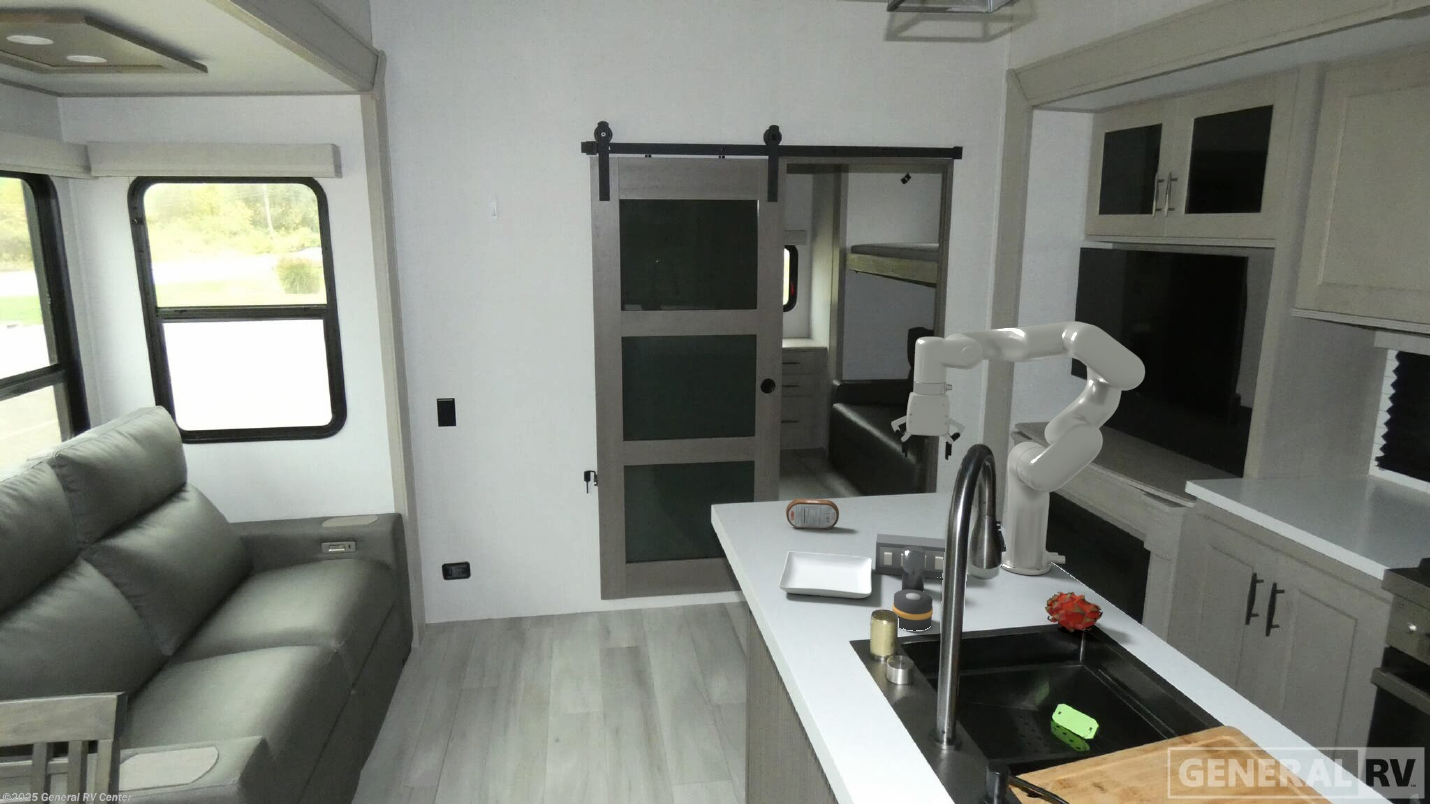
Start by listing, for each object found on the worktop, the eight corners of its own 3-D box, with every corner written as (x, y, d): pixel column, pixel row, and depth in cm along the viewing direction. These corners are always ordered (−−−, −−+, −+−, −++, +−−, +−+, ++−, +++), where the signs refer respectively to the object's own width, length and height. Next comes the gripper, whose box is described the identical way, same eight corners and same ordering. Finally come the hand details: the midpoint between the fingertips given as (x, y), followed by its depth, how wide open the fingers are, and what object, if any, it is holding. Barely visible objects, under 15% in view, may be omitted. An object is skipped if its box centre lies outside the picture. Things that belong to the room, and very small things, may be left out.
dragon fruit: (1037, 630, 172) (1094, 641, 171) (1052, 624, 164) (1112, 635, 163) (1038, 591, 175) (1094, 601, 174) (1052, 583, 167) (1111, 593, 166)
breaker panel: (949, 570, 199) (951, 539, 198) (951, 582, 192) (953, 551, 190) (876, 563, 204) (877, 533, 202) (874, 575, 196) (875, 544, 195)
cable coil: (931, 616, 175) (932, 589, 174) (932, 634, 167) (933, 606, 166) (892, 612, 177) (893, 586, 176) (891, 630, 169) (892, 602, 168)
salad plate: (871, 606, 181) (871, 592, 180) (777, 599, 185) (777, 585, 184) (871, 569, 201) (872, 556, 200) (787, 563, 205) (787, 550, 204)
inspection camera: (923, 586, 190) (925, 546, 188) (923, 595, 185) (925, 555, 183) (901, 584, 191) (903, 544, 189) (901, 593, 186) (903, 553, 184)
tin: (838, 527, 230) (839, 498, 228) (839, 530, 227) (839, 502, 225) (785, 525, 231) (786, 497, 230) (785, 529, 228) (786, 501, 227)
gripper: (966, 387, 194) (962, 455, 198) (893, 384, 198) (890, 451, 202) (968, 392, 187) (963, 463, 191) (892, 390, 191) (889, 459, 195)
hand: (926, 457), depth 196 cm, fingers open, 9 cm apart
